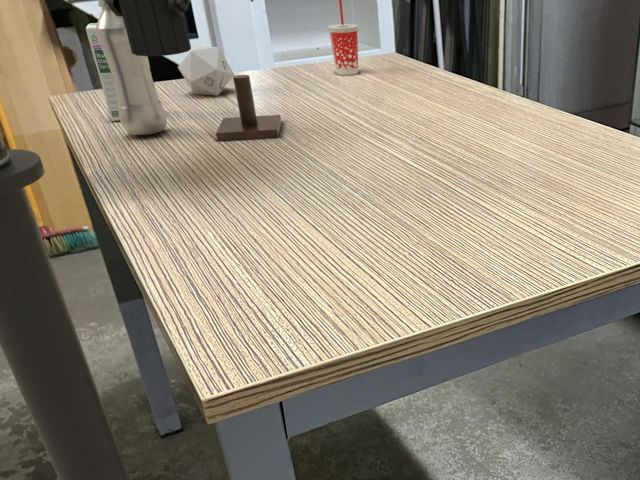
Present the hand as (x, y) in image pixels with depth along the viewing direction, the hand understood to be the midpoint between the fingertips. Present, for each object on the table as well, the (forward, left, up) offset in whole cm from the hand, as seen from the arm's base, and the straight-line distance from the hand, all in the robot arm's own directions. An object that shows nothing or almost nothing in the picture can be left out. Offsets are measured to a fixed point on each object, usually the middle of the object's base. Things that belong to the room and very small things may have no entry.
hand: (145, 11), depth 79 cm
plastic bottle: (-10, +26, -20) cm, 35 cm away
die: (-4, +53, -20) cm, 57 cm away
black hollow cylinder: (+1, +2, -4) cm, 5 cm away
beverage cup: (+22, +66, -20) cm, 73 cm away
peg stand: (+6, +24, -20) cm, 32 cm away
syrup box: (-15, +38, -20) cm, 46 cm away
